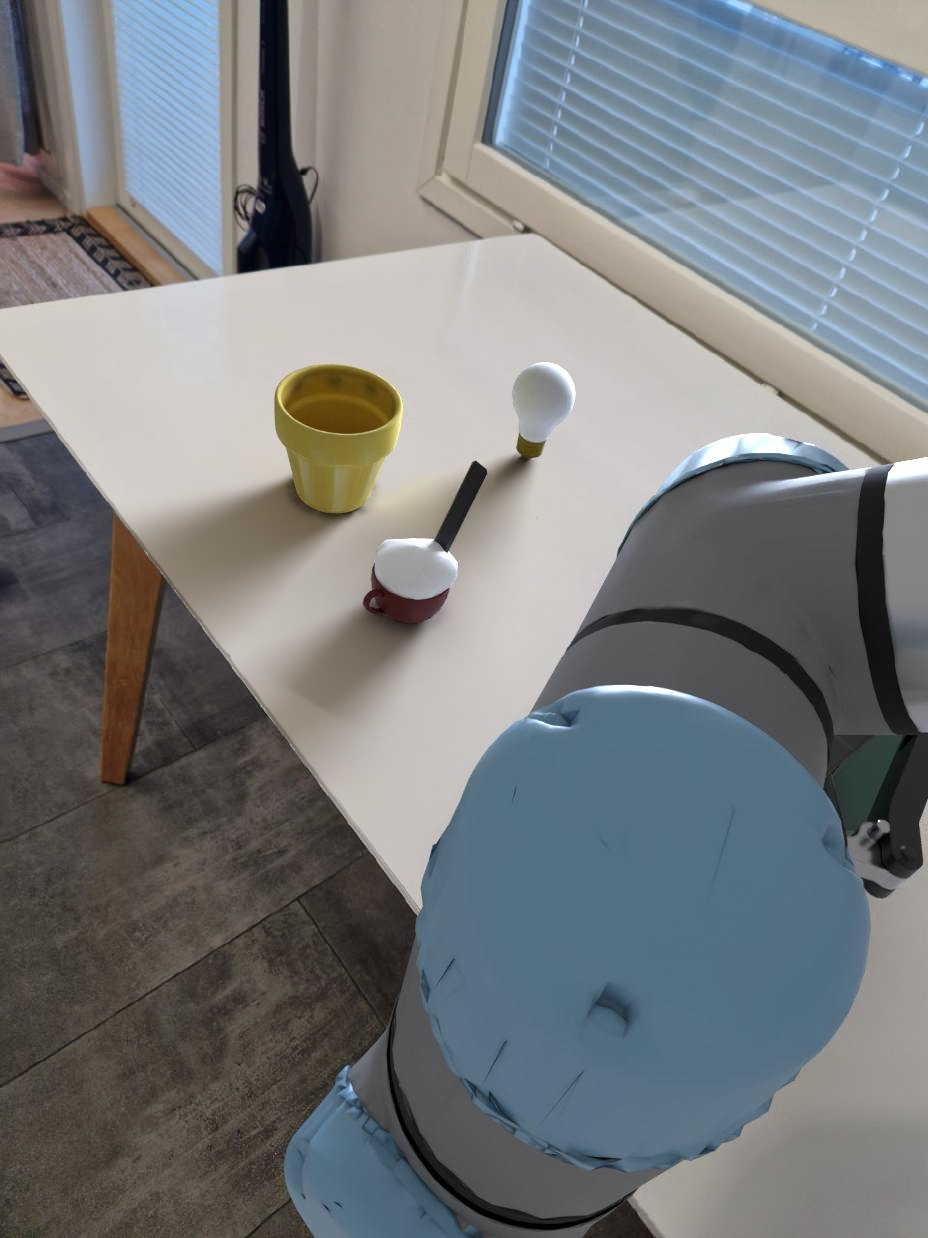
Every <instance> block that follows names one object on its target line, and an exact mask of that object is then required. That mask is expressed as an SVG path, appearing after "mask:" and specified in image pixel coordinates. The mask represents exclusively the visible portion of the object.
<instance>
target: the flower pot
mask: <svg viewBox="0 0 928 1238" xmlns="http://www.w3.org/2000/svg"><path fill="white" fill-rule="evenodd" d="M273 401H274V402H273V403H274V404H273V405H274V406H273V409H274V411H273V413H274V428H275V432H276V435H277V438H278V440H279V442H281V444H282V445H283V446H284V447H285V451H286V453H287V459H288V462H289V467H290V470H291V474H292V478H293V483H294V487H295V491H296V495H297V496H298V498H300V501H301V502H303V503H304V504H305V505H307V506H308V507H309V508H312V509H313V510H316V511H319V512H322V513H326V514H343V513H344V514H345V513H349V512H353V511H356V510H358V509H359V508H361V507H363V506H364V505H365V504H366V503H367V502H368V500H369V499H370V497H371V494H372V492H373V489H374V486H375V484H376V482H377V479H378V476H379V474H380V472H381V469H382V467H383V465H384V461H385V459H386V458H387V457H388V456H389V455H390V454H391V453H392V452H393V451H394V449H395V448H396V446H397V444H398V441H399V436H400V432H401V426H402V418H403V410H404V409H403V408H404V405H403V400H402V397H401V395H400V393H399V392H398V390H397V389H396V388H395V386H393V384H391V382H389V381H388V380H386V379H385V378H383V377H382V376H380V375H378V374H376V373H374V372H372V371H370V370H368V369H364V368H361V367H358V366H353V365H348V364H339V363H322V364H314V365H308V366H304V367H301V368H299V369H297V370H294V371H292V372H290V373H289V374H288V375H286V376H284V377H283V379H281V381H280V382H279V383H278V385H277V386H276V388H275V392H274V398H273Z"/></svg>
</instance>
